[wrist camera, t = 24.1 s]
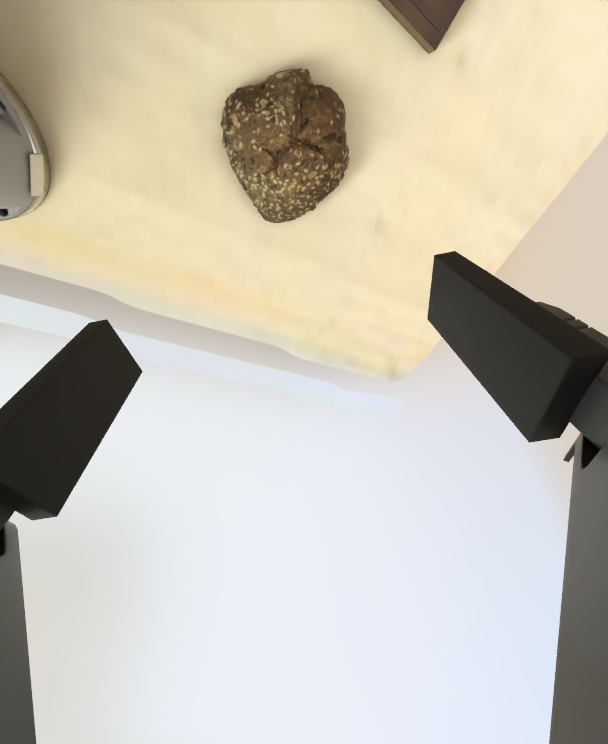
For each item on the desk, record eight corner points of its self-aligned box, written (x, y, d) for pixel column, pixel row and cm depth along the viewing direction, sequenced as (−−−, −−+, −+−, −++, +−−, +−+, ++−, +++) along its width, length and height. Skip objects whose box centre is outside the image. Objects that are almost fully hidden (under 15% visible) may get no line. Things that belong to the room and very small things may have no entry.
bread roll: (261, 231, 36) (259, 242, 32) (206, 105, 29) (195, 100, 25) (360, 188, 34) (370, 194, 30) (328, 39, 26) (337, 22, 23)
